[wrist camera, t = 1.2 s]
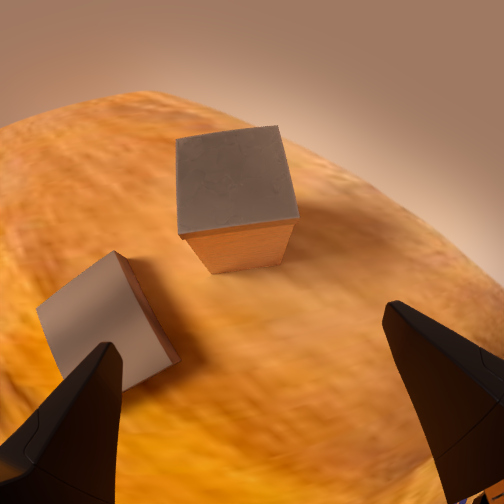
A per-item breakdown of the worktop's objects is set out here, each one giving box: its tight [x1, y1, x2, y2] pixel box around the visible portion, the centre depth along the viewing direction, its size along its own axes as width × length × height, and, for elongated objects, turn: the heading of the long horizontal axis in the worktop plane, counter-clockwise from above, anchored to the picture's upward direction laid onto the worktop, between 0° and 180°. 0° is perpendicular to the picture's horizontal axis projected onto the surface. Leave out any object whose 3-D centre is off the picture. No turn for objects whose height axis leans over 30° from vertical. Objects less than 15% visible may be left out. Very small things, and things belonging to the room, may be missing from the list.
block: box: [36, 250, 181, 393], centre depth 20 cm, size 10×10×3 cm
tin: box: [176, 126, 300, 274], centre depth 19 cm, size 6×6×10 cm
